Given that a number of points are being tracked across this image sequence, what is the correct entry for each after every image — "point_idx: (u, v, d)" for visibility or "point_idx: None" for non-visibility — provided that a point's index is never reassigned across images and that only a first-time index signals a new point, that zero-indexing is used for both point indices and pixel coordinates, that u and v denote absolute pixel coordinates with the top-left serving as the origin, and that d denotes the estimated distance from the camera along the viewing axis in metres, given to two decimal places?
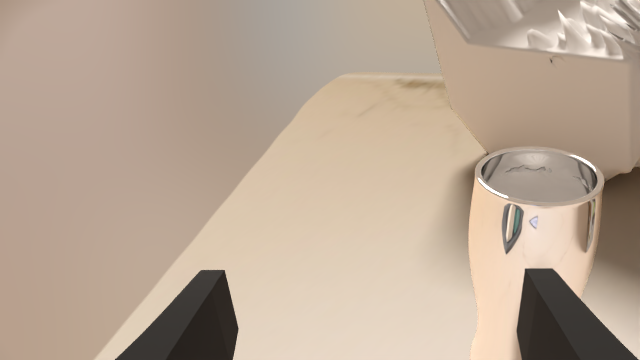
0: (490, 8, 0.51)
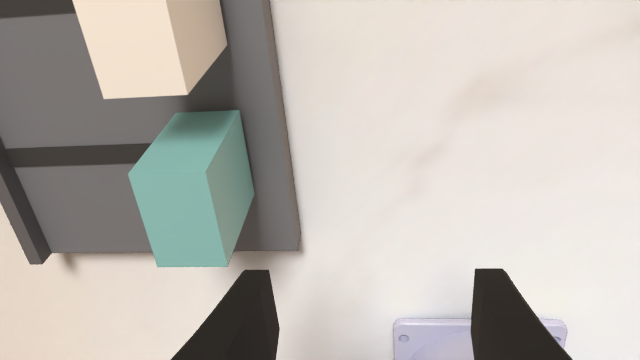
0: None
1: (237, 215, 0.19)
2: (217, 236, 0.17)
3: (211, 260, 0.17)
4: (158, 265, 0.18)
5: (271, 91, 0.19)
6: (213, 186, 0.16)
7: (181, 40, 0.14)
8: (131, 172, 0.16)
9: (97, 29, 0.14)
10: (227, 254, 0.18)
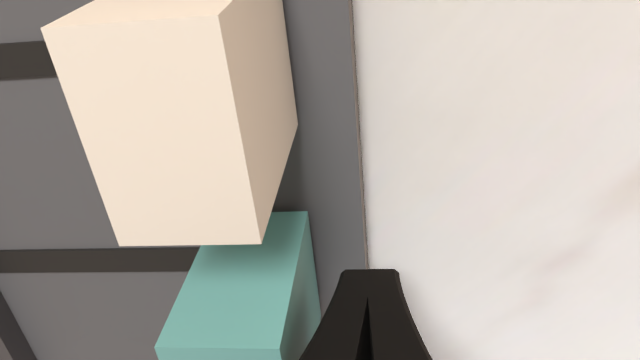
0: None
1: None
2: None
3: None
4: None
5: (355, 184, 0.13)
6: (287, 359, 0.10)
7: (253, 155, 0.08)
8: (159, 343, 0.10)
9: (109, 143, 0.08)
10: None
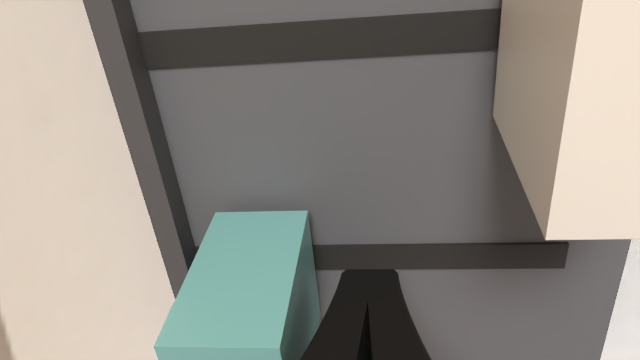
0: None
1: None
2: None
3: None
4: None
5: None
6: (287, 359, 0.10)
7: None
8: (159, 342, 0.10)
9: (598, 122, 0.07)
10: None
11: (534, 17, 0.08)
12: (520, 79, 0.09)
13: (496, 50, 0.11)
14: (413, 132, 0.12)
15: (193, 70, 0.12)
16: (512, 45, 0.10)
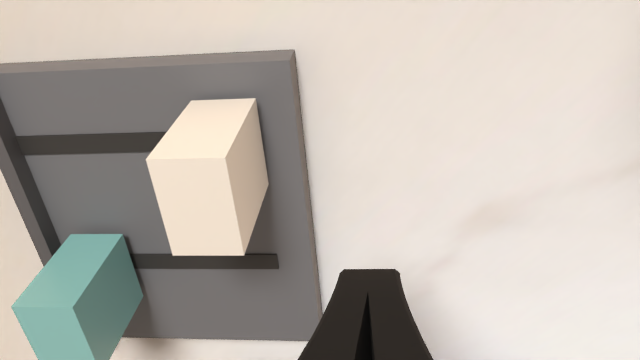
0: None
1: (117, 324, 0.22)
2: (89, 352, 0.21)
3: None
4: None
5: (304, 217, 0.22)
6: (83, 315, 0.20)
7: (240, 212, 0.17)
8: (14, 305, 0.20)
9: (172, 207, 0.17)
10: None
11: None
12: None
13: None
14: None
15: (48, 156, 0.22)
16: None
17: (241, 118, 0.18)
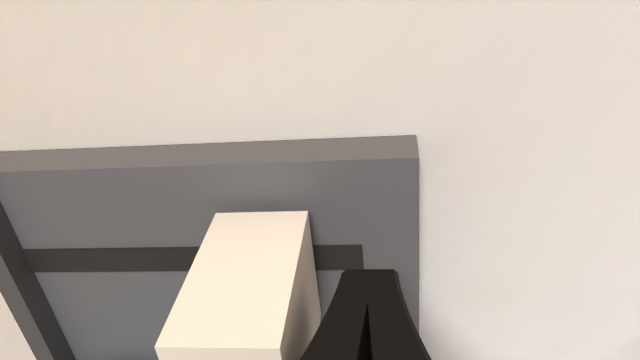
0: None
1: None
2: None
3: None
4: None
5: None
6: None
7: None
8: None
9: None
10: None
11: None
12: None
13: None
14: None
15: (67, 274, 0.16)
16: None
17: (293, 254, 0.12)
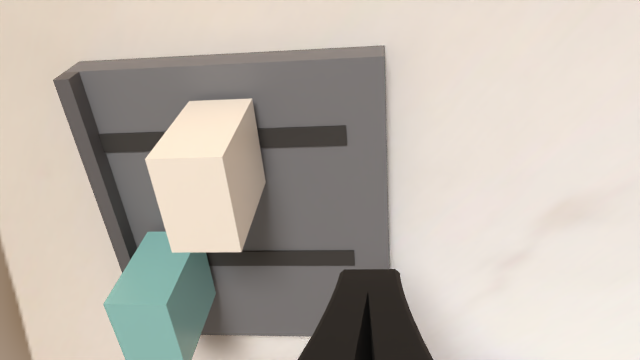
0: None
1: (198, 321, 0.23)
2: (178, 349, 0.21)
3: None
4: None
5: (385, 214, 0.22)
6: (173, 311, 0.20)
7: (237, 210, 0.17)
8: (106, 302, 0.20)
9: (171, 205, 0.17)
10: None
11: None
12: None
13: (292, 147, 0.21)
14: None
15: (130, 153, 0.22)
16: None
17: (238, 118, 0.18)
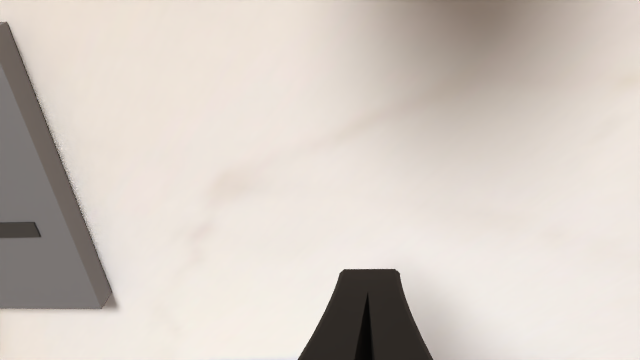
0: None
1: None
2: None
3: None
4: None
5: (48, 185, 0.23)
6: None
7: None
8: None
9: None
10: None
11: None
12: None
13: None
14: None
15: None
16: None
17: None
